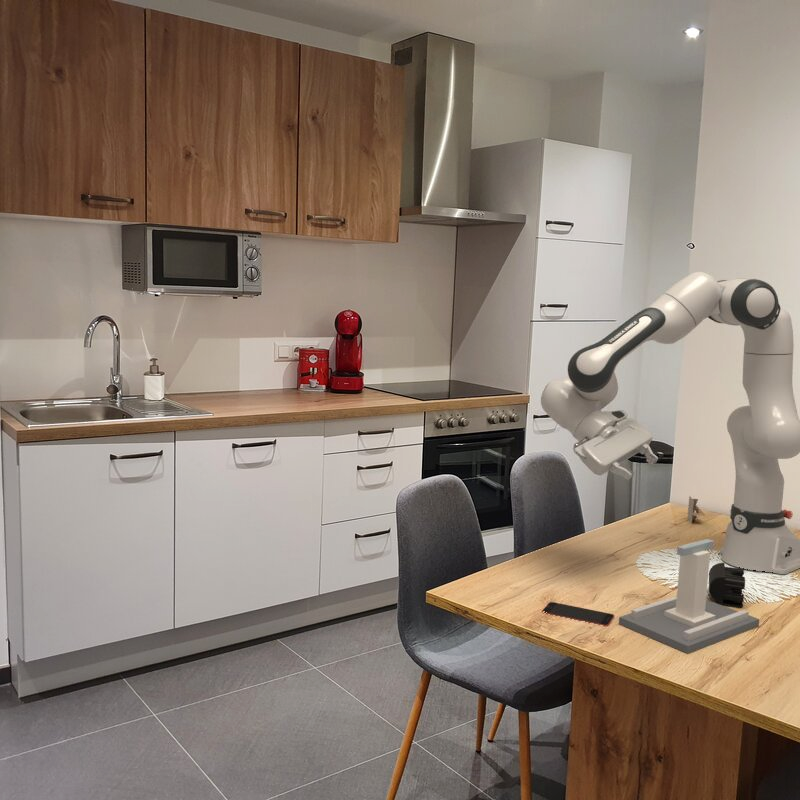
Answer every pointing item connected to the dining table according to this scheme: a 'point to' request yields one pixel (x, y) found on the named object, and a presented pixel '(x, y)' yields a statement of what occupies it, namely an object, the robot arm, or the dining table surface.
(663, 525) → the dining table surface
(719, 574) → the black rounded block
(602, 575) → the dining table surface
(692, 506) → the architectural model
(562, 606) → the smartphone
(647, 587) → the dining table surface
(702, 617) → the stand
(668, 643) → the plate
